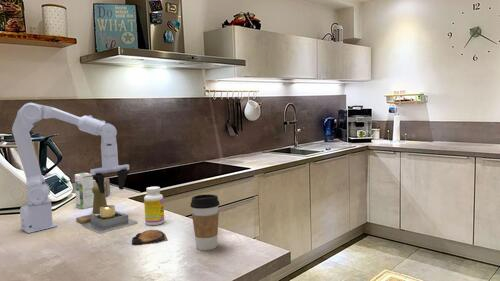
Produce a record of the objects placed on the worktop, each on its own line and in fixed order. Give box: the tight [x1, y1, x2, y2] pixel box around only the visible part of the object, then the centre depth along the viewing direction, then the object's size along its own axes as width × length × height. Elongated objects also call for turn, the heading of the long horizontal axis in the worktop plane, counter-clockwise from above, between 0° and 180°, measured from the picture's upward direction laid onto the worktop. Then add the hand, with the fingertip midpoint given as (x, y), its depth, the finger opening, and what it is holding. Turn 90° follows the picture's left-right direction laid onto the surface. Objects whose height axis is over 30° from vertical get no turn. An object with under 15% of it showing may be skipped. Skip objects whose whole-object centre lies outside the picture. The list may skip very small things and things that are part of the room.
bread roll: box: [131, 229, 168, 247], centre depth 115 cm, size 11×8×4 cm
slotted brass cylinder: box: [99, 204, 116, 220], centre depth 132 cm, size 5×5×6 cm
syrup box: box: [74, 172, 94, 210], centre depth 159 cm, size 6×6×14 cm
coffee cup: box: [189, 193, 220, 251], centre depth 106 cm, size 8×8×15 cm
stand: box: [75, 213, 97, 225], centre depth 137 cm, size 6×6×2 cm
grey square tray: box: [81, 210, 139, 234], centre depth 132 cm, size 14×14×3 cm
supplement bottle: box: [143, 186, 165, 226], centre depth 132 cm, size 7×7×13 cm
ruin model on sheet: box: [104, 177, 111, 198], centre depth 182 cm, size 11×3×10 cm, turn 13°
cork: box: [91, 184, 108, 215], centre depth 150 cm, size 6×6×11 cm
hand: (111, 191), depth 140 cm, fingers open, 7 cm apart
